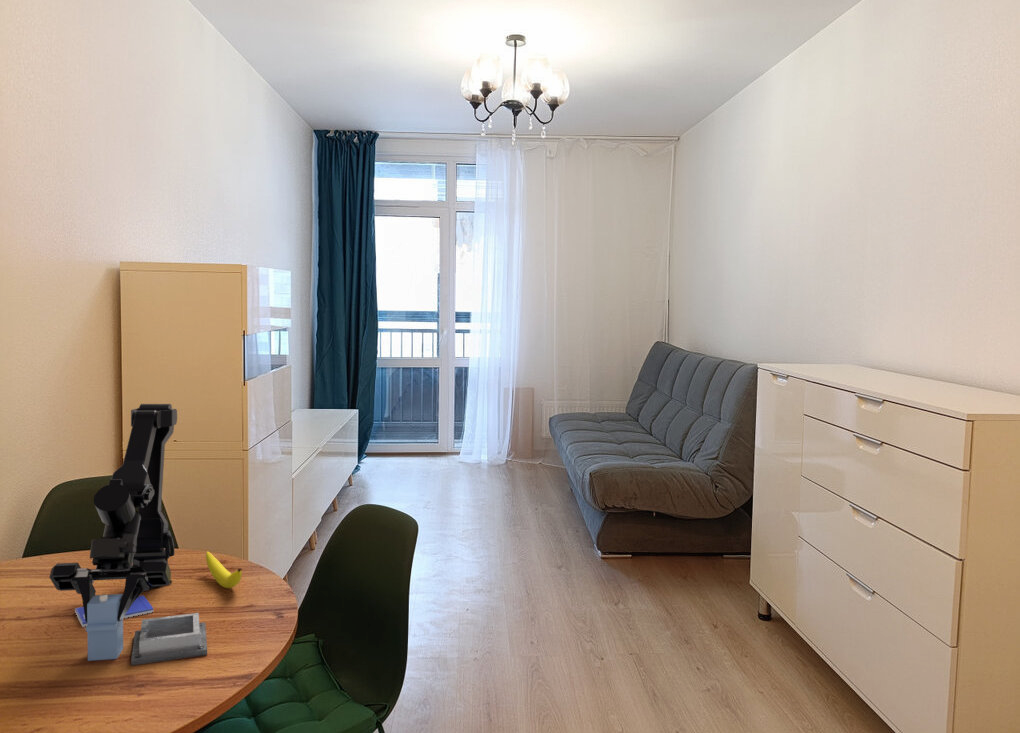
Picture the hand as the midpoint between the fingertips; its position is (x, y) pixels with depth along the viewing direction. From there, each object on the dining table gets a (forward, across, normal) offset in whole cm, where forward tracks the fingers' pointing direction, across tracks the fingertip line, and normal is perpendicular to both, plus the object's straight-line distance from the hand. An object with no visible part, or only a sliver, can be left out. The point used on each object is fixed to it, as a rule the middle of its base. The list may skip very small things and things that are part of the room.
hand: (103, 621), depth 131 cm
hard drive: (-9, -3, +19) cm, 22 cm away
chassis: (+2, +10, +7) cm, 13 cm away
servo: (+4, 0, +6) cm, 7 cm away
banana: (-18, +15, +28) cm, 36 cm away
